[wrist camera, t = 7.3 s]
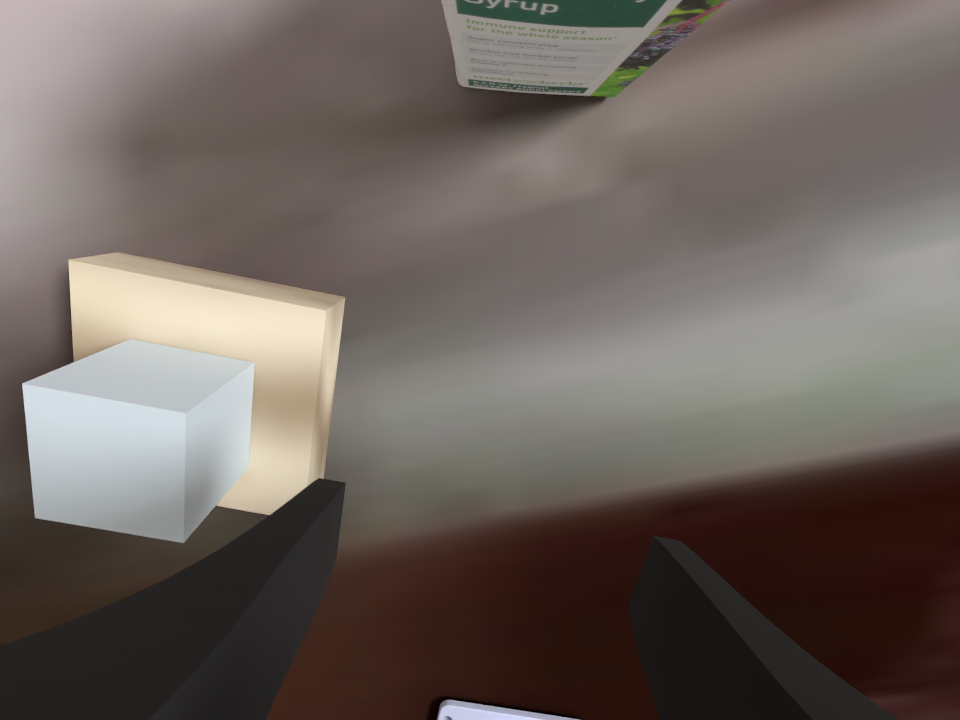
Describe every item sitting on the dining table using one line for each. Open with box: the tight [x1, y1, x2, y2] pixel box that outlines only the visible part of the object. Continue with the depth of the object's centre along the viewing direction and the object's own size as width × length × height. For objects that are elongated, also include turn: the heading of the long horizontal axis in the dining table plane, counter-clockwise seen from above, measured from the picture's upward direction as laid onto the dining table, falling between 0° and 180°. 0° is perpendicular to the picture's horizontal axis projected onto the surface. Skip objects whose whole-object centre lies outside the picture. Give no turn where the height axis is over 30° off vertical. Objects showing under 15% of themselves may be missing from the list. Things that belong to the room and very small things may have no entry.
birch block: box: [69, 252, 345, 515], centre depth 20 cm, size 9×9×3 cm
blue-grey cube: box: [22, 339, 255, 543], centre depth 17 cm, size 4×4×4 cm
